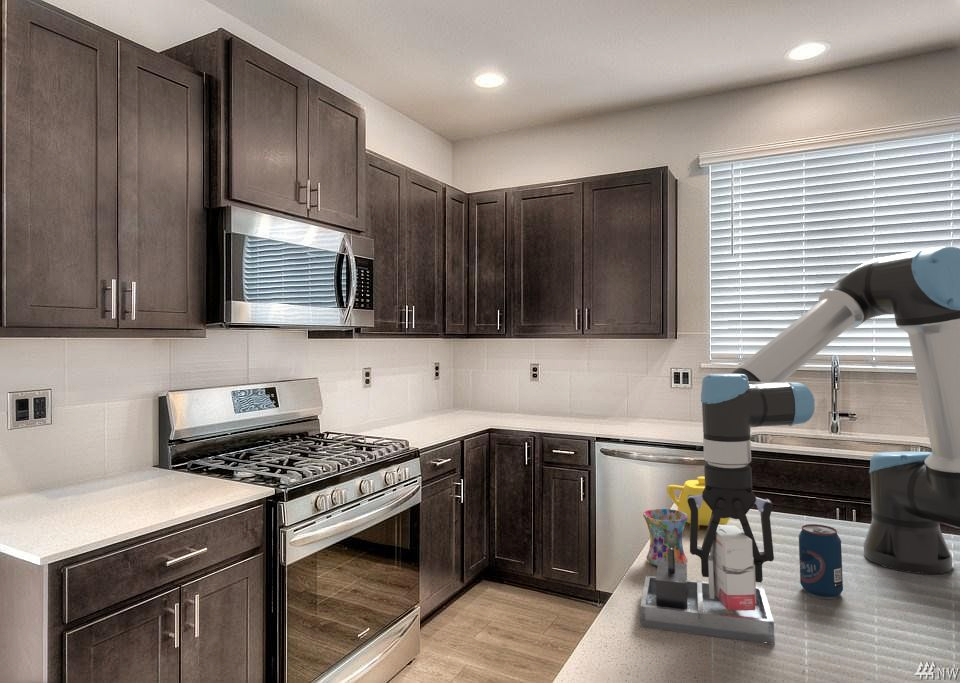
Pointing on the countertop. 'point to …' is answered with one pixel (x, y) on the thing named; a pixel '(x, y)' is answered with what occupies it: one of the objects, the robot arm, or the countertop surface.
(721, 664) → the countertop surface
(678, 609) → the divided grey tray
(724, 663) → the countertop surface
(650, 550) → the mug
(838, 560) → the soda can
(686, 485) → the teapot
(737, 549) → the ink box
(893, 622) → the countertop surface
